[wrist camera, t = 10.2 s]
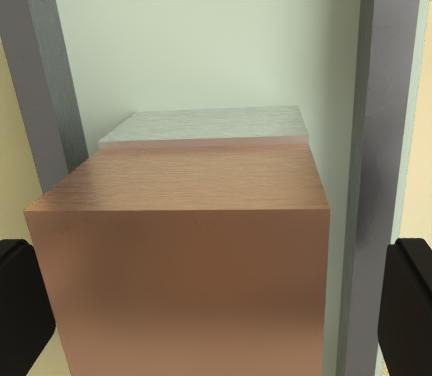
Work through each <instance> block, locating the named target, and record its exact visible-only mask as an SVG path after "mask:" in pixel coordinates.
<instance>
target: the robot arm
mask: <svg viewBox="0 0 432 376" xmlns="http://www.w3.org/2000/svg"><path fill="white" fill-rule="evenodd" d="M55 327H56V321H55V318H54V314H53V311H52V308H51V304H50V301H49V297H48V294H47V290H46V287H45V283H44V280H43V277H42V273H41V270H40V266H39V263H38V260H37V256H36V253H35V250H34V247H33V246H32V245H30V244H29V243H28V242H27V241H26V240H24V239H4V240H1V241H0V376H26V375H27V373H28V372H29V370H30V369H31V367H32V366H33V364H34V362H35V361H36V359H37V358H38V356H39V355H40V353H41V352H42V350H43V349H44V347H45V346H46V344H47V343H48V341H49V340H50V338H51V337H52V335H53V334H54V331H55ZM377 335H378V342H379V346H380V349H381V352H382V354H383V357H384V360H385V363H386V366H387V369H388V372H389V375H390V376H432V250H431V248H430V247H429V246H428V244H427V243H426V241H425V240H424V239H422V238H398V239H396V241H395V244H389V245H388V246H387V251H386V260H385V268H384V277H383V285H382V294H381V302H380V311H379V320H378V328H377Z"/></svg>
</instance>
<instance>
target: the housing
mask: <svg viewBox="0 0 432 376" xmlns="http://www.w3.org/2000/svg"><path fill="white" fill-rule="evenodd" d="M98 146H99V150H98V151H97V152H96V153H94V154H93V155H92V156H91V157H89V158H88V159H87V160H86V161H85V162H83V163H82V164H81V165H80V166H78V167H77V168H76V169H75V170H74V171H72V172H71V173H70V174H69V175H67V176H66V177H65V178H64V179H62V180H61V181H60V182H59V183H58V184H56V185H55V186H54V187H53V188H51V189H50V190H49V191H48V192H46V193H45V194H44V195H43V196H42V197H40V198H39V199H38V200H37V201H35V202H34V203H33V204H32V205H30V206H29V207H28V208H27V209H26V210H24V215H25V218H26V222H27V225H28V228H29V232H30V235H31V239H32V242H33V246H34V249H35V252H36V256H37V259H38V263H39V266H40V270H41V273H42V277H43V280H44V283H45V287H46V290H47V294H48V297H49V301H50V304H51V308H52V311H53V314H54V318H55V321H56V325H57V328H58V332H59V335H60V338H61V342H62V345H63V349H64V352H65V356H66V359H67V363H68V366H69V369H70V373H71V376H321V373H322V355H323V337H324V319H325V301H326V283H327V265H328V247H329V229H330V210H331V209H330V206H329V203H328V200H327V197H326V194H325V191H324V188H323V185H322V182H321V179H320V176H319V173H318V170H317V167H316V164H315V161H314V158H313V155H312V152H311V149H310V146H309V134H308V131H307V128H306V125H305V122H304V120H303V117H302V114H301V111H300V109H299V106H298V105H292V106H268V107H243V108H219V109H195V110H171V111H146V112H136V113H135V114H134V115H132V116H131V117H130V118H128V119H127V120H126V121H124V122H123V123H122V124H120V125H119V126H118V127H116V128H115V129H114V130H112V131H111V132H110V133H108V134H107V135H106V136H105V137H103V138H102V139H101V140H99V141H98Z"/></svg>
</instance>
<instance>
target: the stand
mask: <svg viewBox="0 0 432 376" xmlns="http://www.w3.org/2000/svg"><path fill="white" fill-rule="evenodd" d="M429 2H430V0H0V36H1V39H2V43H3V47H4V51H5V54H6V58H7V62H8V65H9V69H10V73H11V77H12V80H13V84H14V88H15V91H16V95H17V99H18V102H19V106H20V110H21V114H22V117H23V121H24V125H25V128H26V132H27V136H28V140H29V143H30V147H31V151H32V154H33V158H34V162H35V166H36V169H37V173H38V177H39V180H40V184H41V188H42V192H43V195H44V194H45V193H46V192H48V191H49V190H50V189H51V188H53V187H54V186H55V185H56V184H58V183H59V182H60V181H61V180H62V179H64V178H65V177H66V176H67V175H69V174H70V173H71V172H72V171H74V170H75V169H76V168H77V167H78V166H80V165H81V164H82V163H83V162H85V161H86V160H87V159H88V158H89V157H91V156H92V155H93V154H94V153H96V152H97V151H98V150H99V146H98V141H99V140H101V139H102V138H103V137H105V136H106V135H107V134H108V133H110V132H111V131H112V130H114V129H115V128H116V127H118V126H119V125H120V124H122V123H123V122H124V121H126V120H127V119H128V118H130V117H131V116H132V115H134V114H135V113H136V112H146V111H171V110H195V109H219V108H243V107H268V106H292V105H298V106H299V109H300V111H301V114H302V117H303V120H304V122H305V125H306V128H307V131H308V134H309V146H310V149H311V152H312V155H313V158H314V161H315V164H316V167H317V170H318V173H319V176H320V179H321V182H322V185H323V188H324V191H325V194H326V197H327V200H328V203H329V206H330V209H331V210H330V229H329V247H328V265H327V283H326V301H325V319H324V337H323V355H322V373H321V376H381V373H382V365H383V354H382V352H381V349H380V346H379V342H378V335H377V328H378V320H379V311H380V302H381V294H382V285H383V277H384V268H385V260H386V251H387V246H388V245H389V244H395V241H396V239H398V238H399V234H400V226H401V218H402V211H403V203H404V195H405V187H406V180H407V172H408V164H409V156H410V149H411V141H412V133H413V126H414V118H415V110H416V102H417V95H418V87H419V79H420V72H421V64H422V56H423V48H424V41H425V33H426V25H427V17H428V10H429Z"/></svg>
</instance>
